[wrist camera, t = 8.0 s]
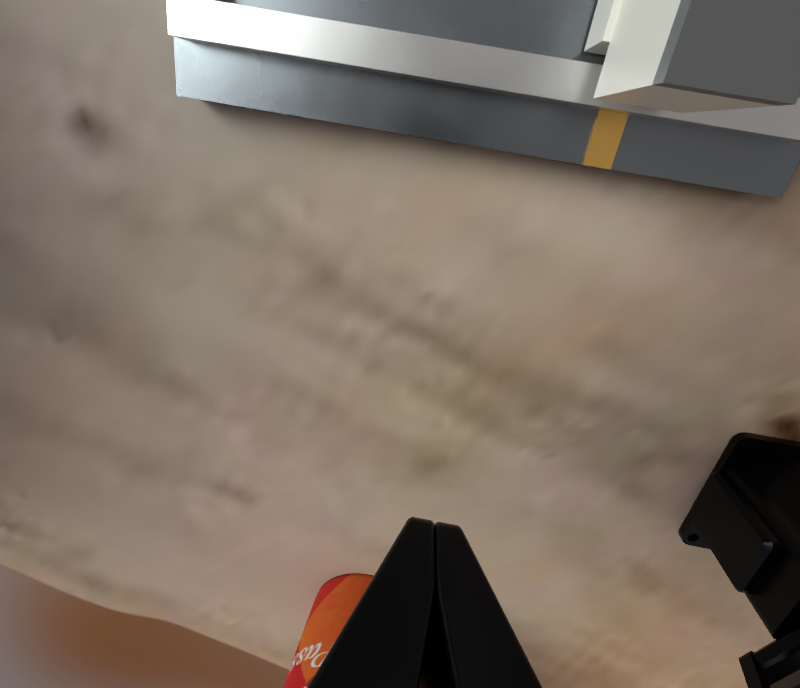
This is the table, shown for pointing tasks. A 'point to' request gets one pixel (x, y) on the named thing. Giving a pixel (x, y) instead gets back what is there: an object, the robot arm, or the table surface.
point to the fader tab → (697, 53)
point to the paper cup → (325, 625)
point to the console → (468, 84)
